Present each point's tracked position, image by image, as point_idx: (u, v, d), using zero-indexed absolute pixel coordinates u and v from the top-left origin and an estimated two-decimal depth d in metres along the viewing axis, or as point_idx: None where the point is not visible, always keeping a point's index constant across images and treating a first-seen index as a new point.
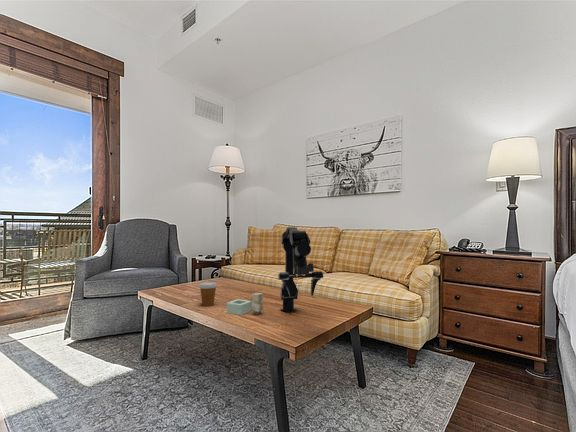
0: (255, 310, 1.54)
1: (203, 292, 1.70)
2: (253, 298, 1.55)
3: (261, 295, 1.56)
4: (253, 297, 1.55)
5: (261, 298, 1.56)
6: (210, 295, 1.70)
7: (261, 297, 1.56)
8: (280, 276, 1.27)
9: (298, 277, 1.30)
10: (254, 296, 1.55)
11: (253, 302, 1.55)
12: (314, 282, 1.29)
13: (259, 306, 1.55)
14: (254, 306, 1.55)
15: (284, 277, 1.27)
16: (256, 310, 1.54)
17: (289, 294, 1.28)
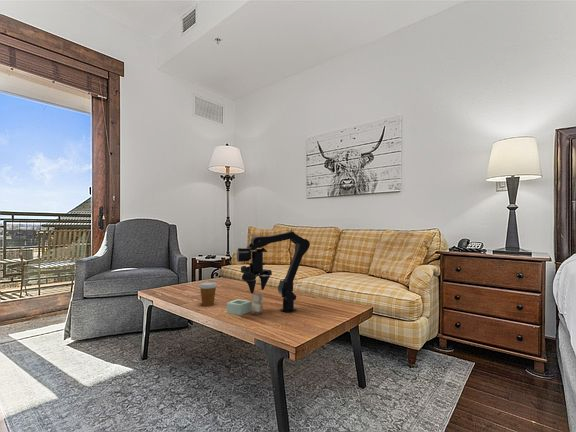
0: (255, 310, 1.54)
1: (203, 292, 1.70)
2: (253, 298, 1.55)
3: (261, 295, 1.56)
4: (253, 297, 1.55)
5: (261, 298, 1.56)
6: (210, 295, 1.70)
7: (261, 297, 1.56)
8: None
9: (257, 275, 1.58)
10: (254, 296, 1.55)
11: (253, 302, 1.55)
12: None
13: (259, 306, 1.55)
14: (254, 306, 1.55)
15: None
16: (256, 310, 1.54)
17: None
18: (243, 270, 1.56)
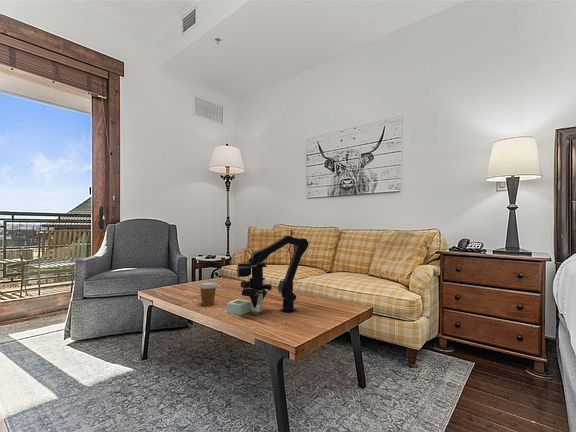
0: (255, 310, 1.54)
1: (203, 292, 1.70)
2: None
3: (261, 295, 1.56)
4: None
5: (261, 298, 1.56)
6: (210, 295, 1.70)
7: (261, 297, 1.56)
8: None
9: (257, 290, 1.58)
10: None
11: None
12: None
13: (259, 306, 1.55)
14: None
15: None
16: (256, 310, 1.54)
17: None
18: (243, 285, 1.56)
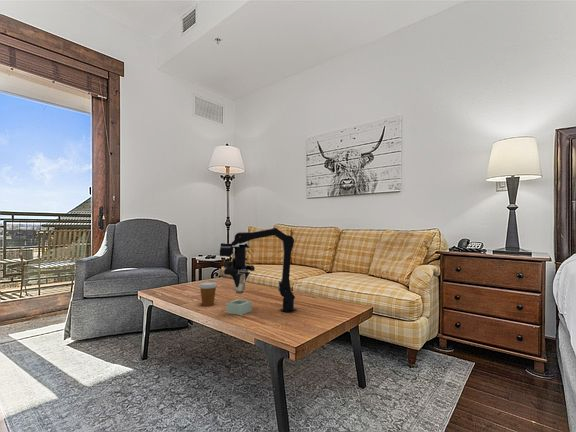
0: (237, 289, 1.58)
1: (203, 292, 1.70)
2: None
3: (243, 275, 1.60)
4: None
5: (243, 278, 1.59)
6: (210, 295, 1.70)
7: (244, 277, 1.60)
8: None
9: (240, 270, 1.61)
10: None
11: None
12: None
13: (242, 286, 1.58)
14: None
15: None
16: (238, 289, 1.57)
17: None
18: (226, 265, 1.59)
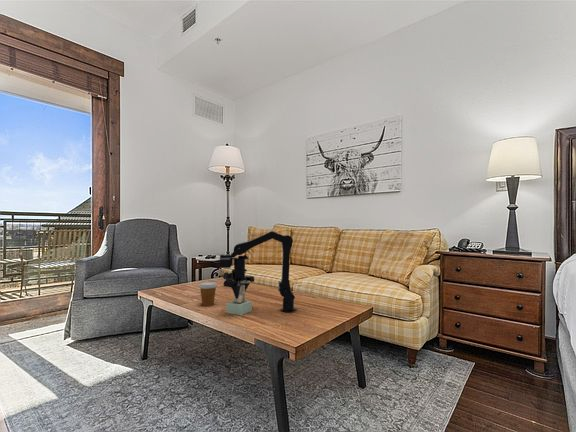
0: (237, 301, 1.58)
1: (203, 292, 1.70)
2: None
3: (243, 286, 1.60)
4: None
5: (243, 289, 1.59)
6: (210, 295, 1.70)
7: (243, 289, 1.60)
8: None
9: None
10: None
11: None
12: None
13: (241, 297, 1.58)
14: None
15: None
16: (238, 301, 1.57)
17: None
18: (225, 277, 1.59)
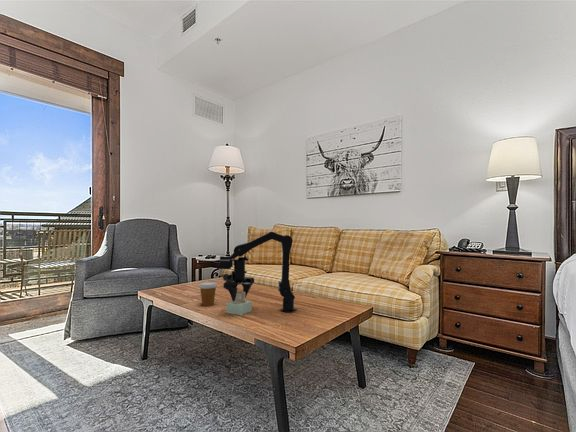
0: None
1: (203, 292, 1.70)
2: (236, 296, 1.59)
3: (244, 293, 1.60)
4: (236, 295, 1.59)
5: (243, 296, 1.60)
6: (210, 295, 1.70)
7: (244, 296, 1.60)
8: None
9: (239, 283, 1.61)
10: (237, 294, 1.58)
11: (235, 300, 1.59)
12: None
13: None
14: None
15: None
16: None
17: (245, 295, 1.64)
18: (225, 278, 1.59)
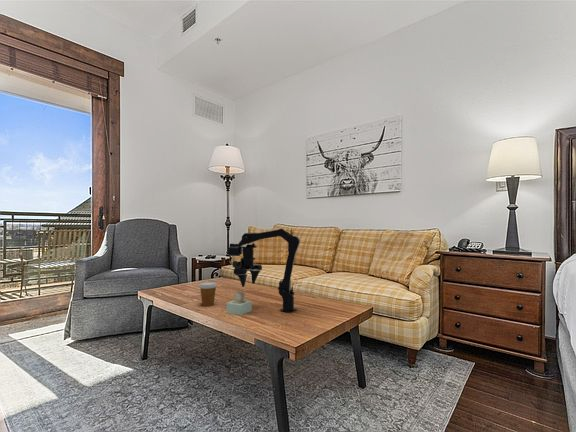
0: None
1: (203, 292, 1.70)
2: (235, 296, 1.58)
3: (243, 293, 1.60)
4: (235, 295, 1.58)
5: (243, 296, 1.60)
6: (210, 295, 1.70)
7: (243, 296, 1.60)
8: None
9: (248, 270, 1.66)
10: (236, 294, 1.58)
11: (235, 300, 1.58)
12: None
13: None
14: None
15: None
16: None
17: None
18: (234, 265, 1.64)
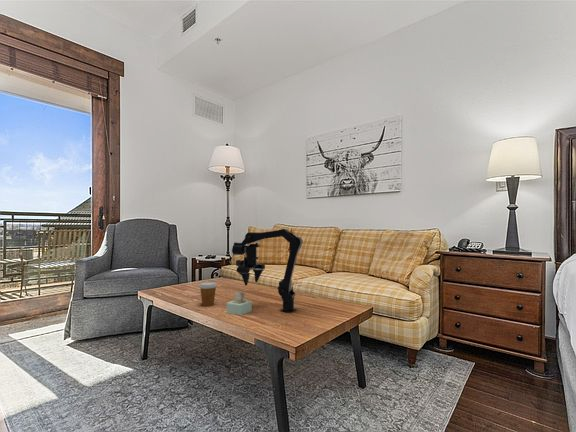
0: None
1: (203, 292, 1.70)
2: (235, 296, 1.58)
3: (243, 293, 1.60)
4: (235, 295, 1.58)
5: (243, 296, 1.60)
6: (210, 295, 1.70)
7: (243, 296, 1.60)
8: None
9: (251, 269, 1.68)
10: (236, 294, 1.58)
11: (235, 300, 1.58)
12: None
13: None
14: None
15: None
16: None
17: None
18: (238, 264, 1.66)
